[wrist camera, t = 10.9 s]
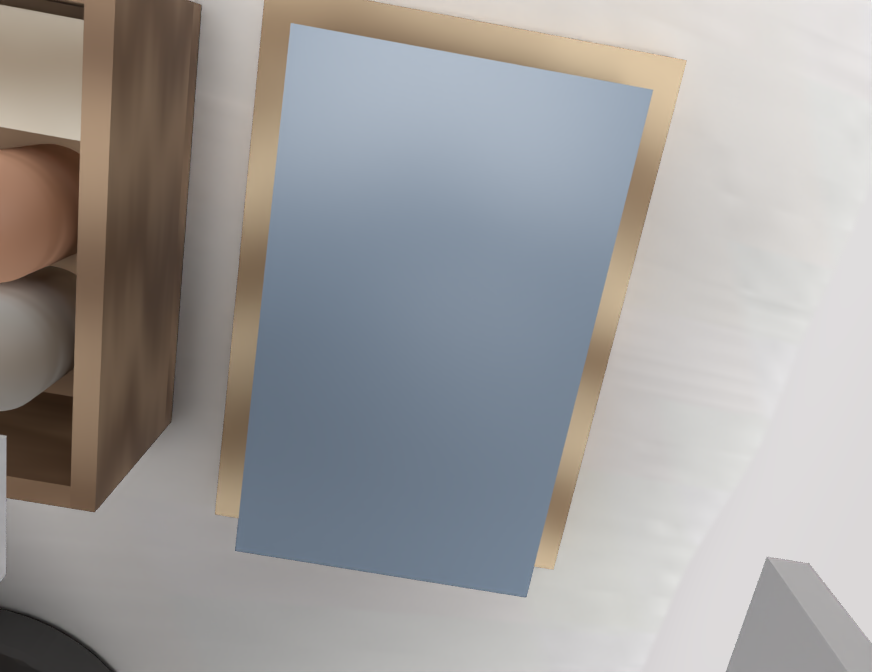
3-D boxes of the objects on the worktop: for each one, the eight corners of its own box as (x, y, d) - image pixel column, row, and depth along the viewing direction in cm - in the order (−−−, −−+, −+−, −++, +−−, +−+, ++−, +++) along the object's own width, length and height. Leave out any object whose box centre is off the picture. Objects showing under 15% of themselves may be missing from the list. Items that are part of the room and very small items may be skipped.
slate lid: (517, 534, 31) (526, 597, 27) (262, 493, 30) (235, 550, 27) (623, 89, 25) (653, 89, 22) (315, 32, 25) (290, 22, 21)
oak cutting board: (548, 548, 33) (553, 569, 31) (225, 495, 32) (214, 514, 31) (674, 61, 26) (686, 60, 25) (276, -13, 26) (266, -19, 25)
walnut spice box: (171, 421, 31) (94, 511, 24) (-50, 384, 31) (-188, 466, 24) (201, 5, 26) (116, -24, 20) (-61, -44, 26) (-238, -91, 19)
